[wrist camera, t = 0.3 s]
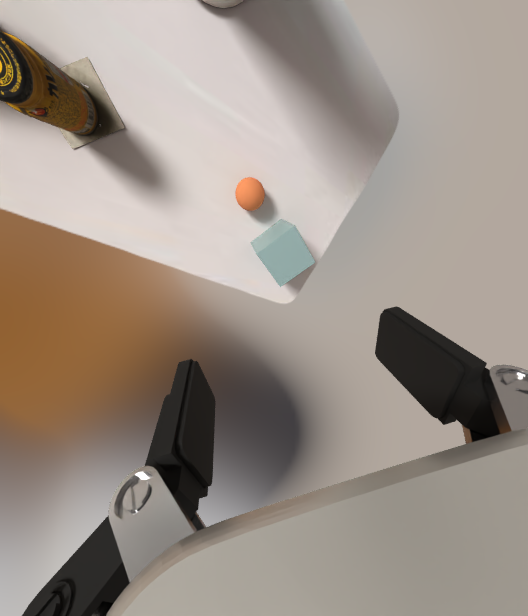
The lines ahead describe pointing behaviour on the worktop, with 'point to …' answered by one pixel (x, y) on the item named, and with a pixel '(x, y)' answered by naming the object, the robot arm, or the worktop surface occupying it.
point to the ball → (250, 194)
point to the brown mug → (56, 92)
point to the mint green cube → (283, 251)
